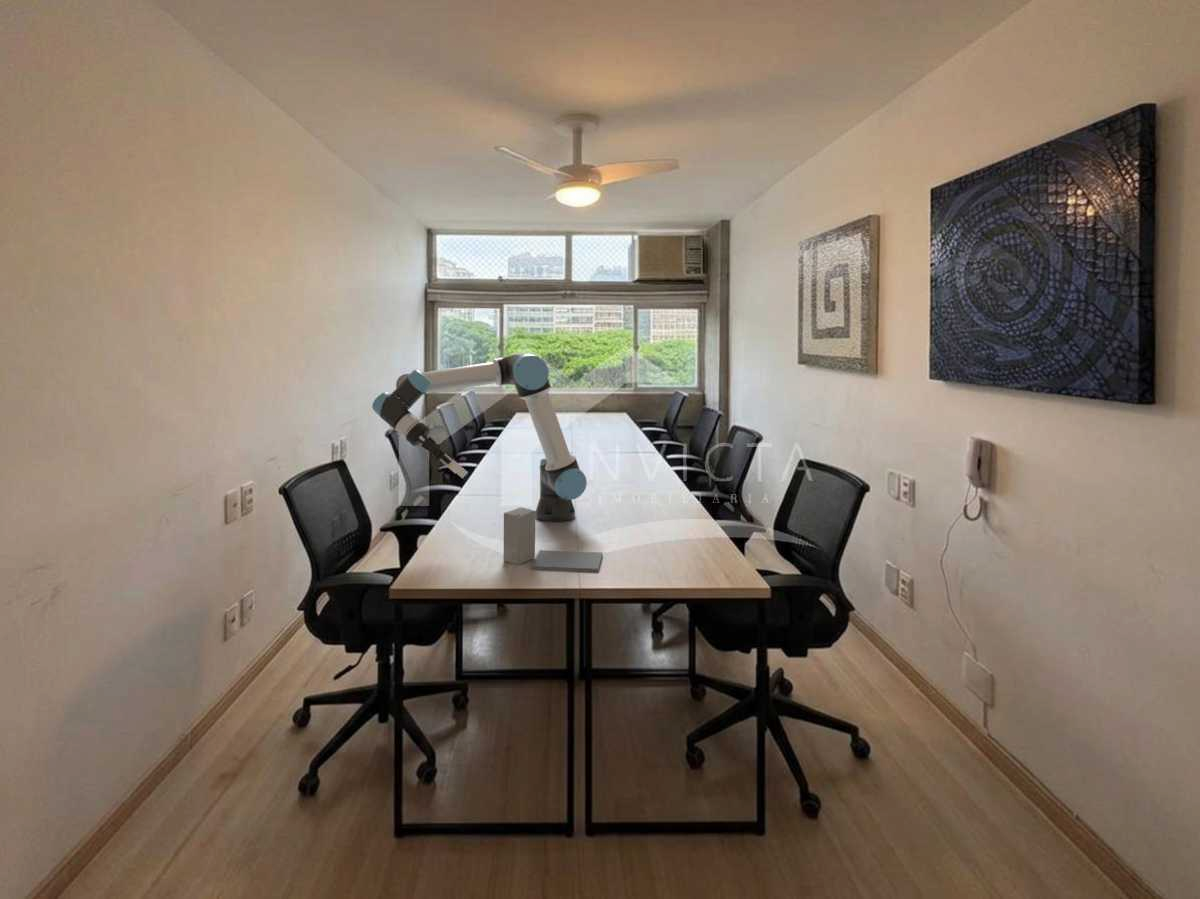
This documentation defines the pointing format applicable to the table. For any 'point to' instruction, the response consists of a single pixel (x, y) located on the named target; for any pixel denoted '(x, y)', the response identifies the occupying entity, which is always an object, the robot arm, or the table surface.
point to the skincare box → (519, 535)
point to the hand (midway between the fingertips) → (461, 472)
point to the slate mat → (567, 561)
